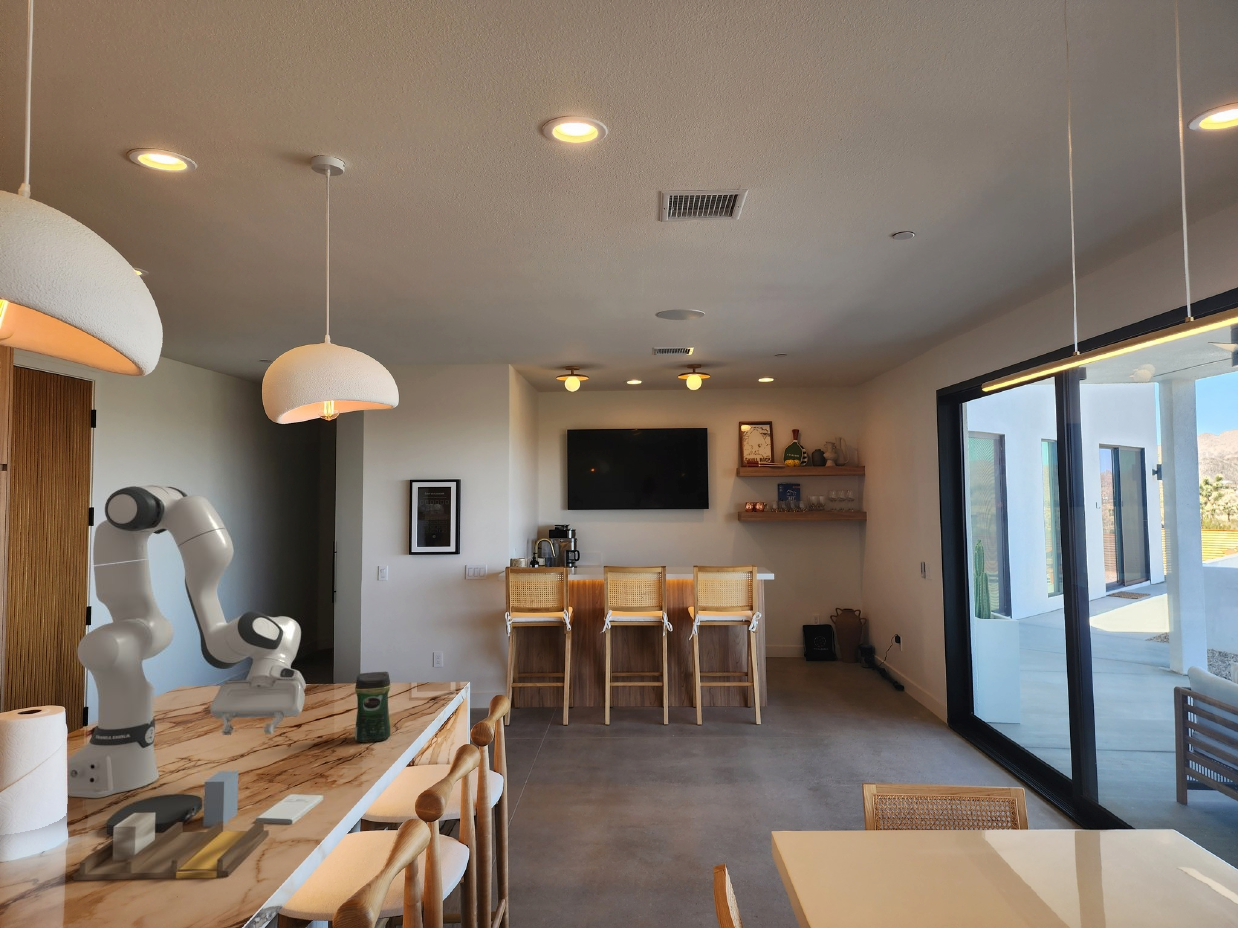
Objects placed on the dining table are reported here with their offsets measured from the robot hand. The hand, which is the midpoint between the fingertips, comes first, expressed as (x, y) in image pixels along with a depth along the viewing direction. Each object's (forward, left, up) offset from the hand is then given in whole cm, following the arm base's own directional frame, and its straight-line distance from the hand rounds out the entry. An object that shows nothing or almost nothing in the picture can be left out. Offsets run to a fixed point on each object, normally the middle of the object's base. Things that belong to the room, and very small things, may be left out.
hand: (247, 733), depth 163 cm
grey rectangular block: (0, -11, -15) cm, 18 cm away
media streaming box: (-14, -10, -15) cm, 23 cm away
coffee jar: (+16, +41, -15) cm, 47 cm away
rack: (0, -27, -15) cm, 30 cm away
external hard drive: (+13, -7, -15) cm, 21 cm away
